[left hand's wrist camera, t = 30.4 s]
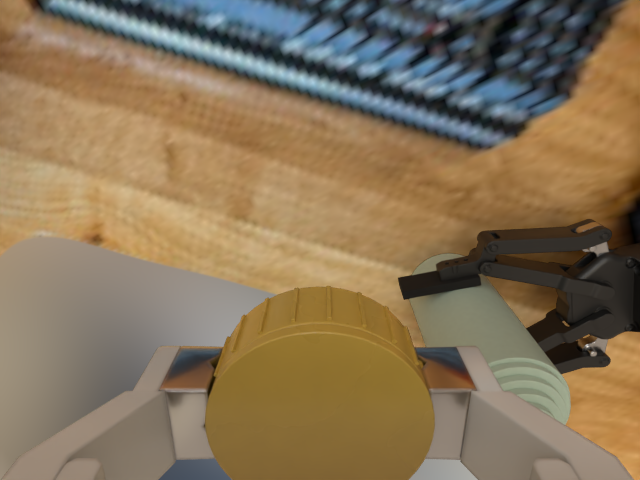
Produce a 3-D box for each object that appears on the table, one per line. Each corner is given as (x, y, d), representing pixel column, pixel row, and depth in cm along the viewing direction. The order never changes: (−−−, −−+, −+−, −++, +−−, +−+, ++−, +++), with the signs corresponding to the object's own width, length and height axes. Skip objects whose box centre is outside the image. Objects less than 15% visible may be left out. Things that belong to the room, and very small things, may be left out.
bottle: (499, 280, 45) (645, 457, 24) (448, 333, 48) (542, 536, 27) (441, 238, 44) (544, 388, 23) (392, 295, 46) (444, 478, 25)
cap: (393, 258, 9) (408, 300, 8) (437, 423, 11) (458, 488, 9) (191, 313, 10) (163, 364, 8) (261, 463, 11) (250, 532, 10)
